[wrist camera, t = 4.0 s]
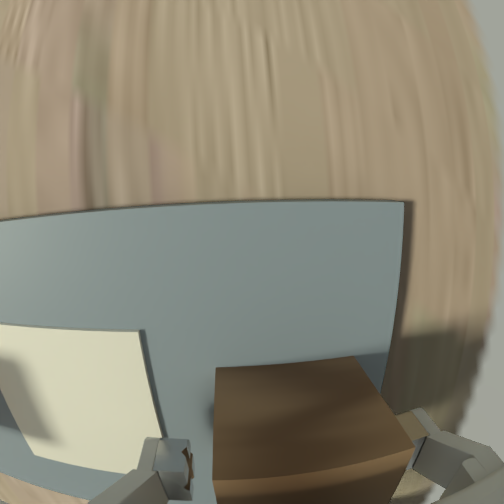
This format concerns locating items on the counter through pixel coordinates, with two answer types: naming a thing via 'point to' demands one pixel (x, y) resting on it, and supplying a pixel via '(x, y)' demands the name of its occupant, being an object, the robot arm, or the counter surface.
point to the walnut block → (305, 435)
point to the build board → (175, 322)
